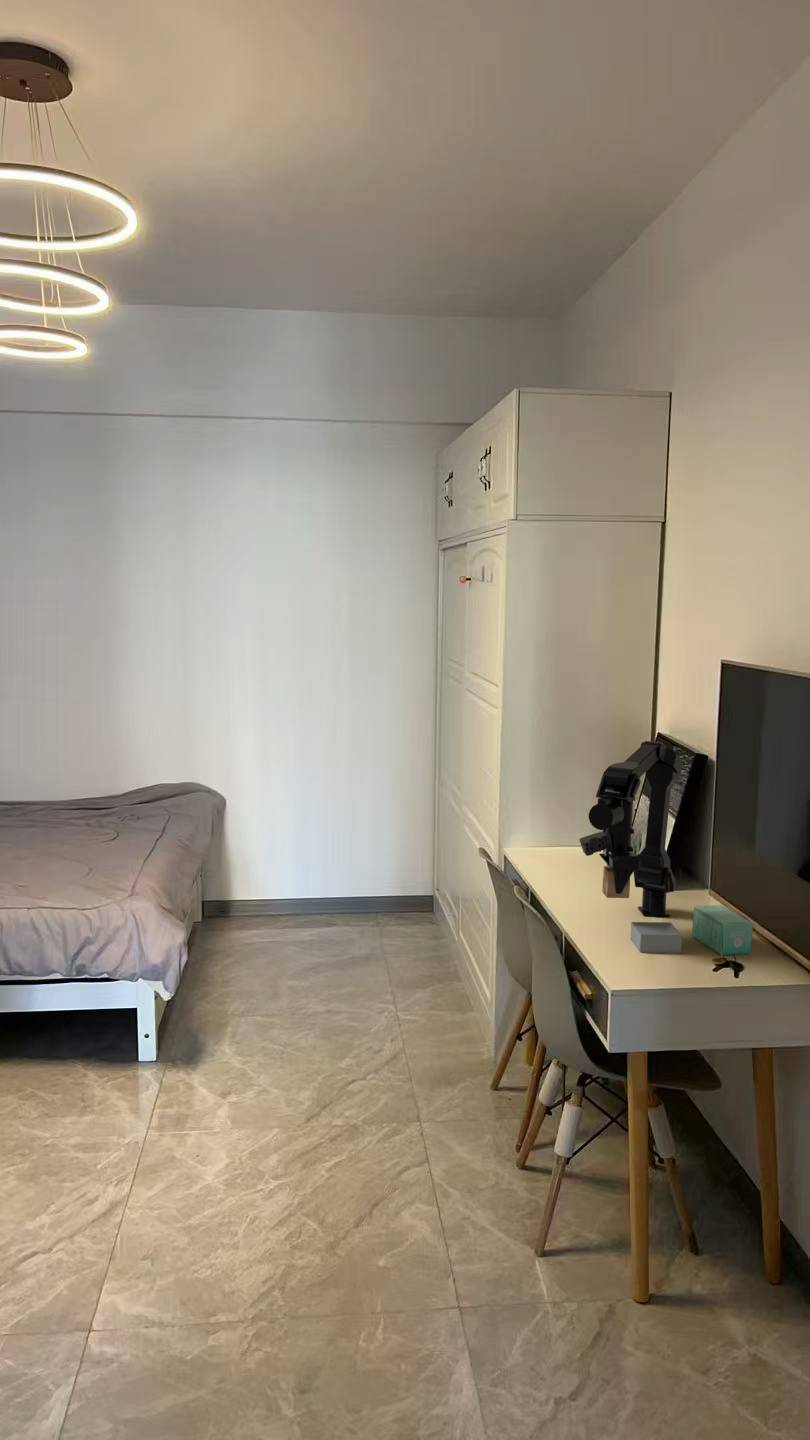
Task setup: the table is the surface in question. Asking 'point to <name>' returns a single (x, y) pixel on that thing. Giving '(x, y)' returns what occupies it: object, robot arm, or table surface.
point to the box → (722, 930)
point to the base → (656, 937)
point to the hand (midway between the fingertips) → (615, 890)
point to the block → (613, 885)
